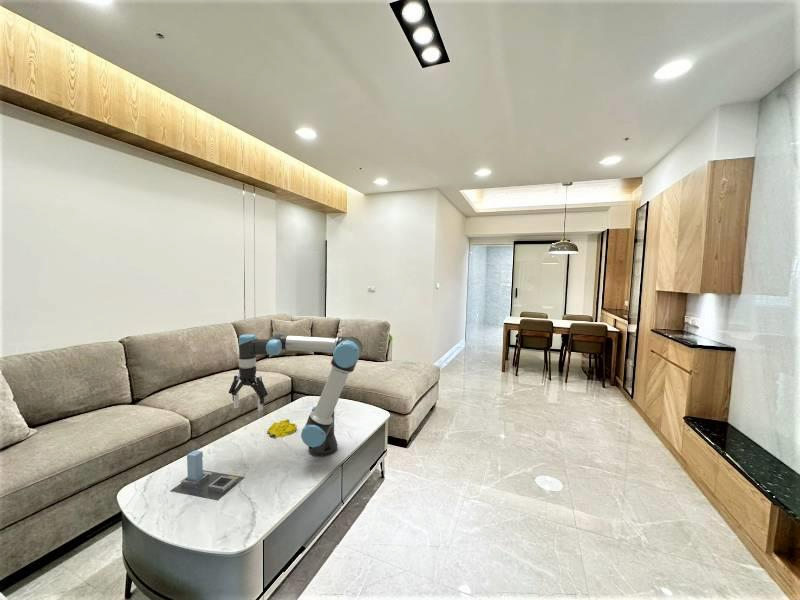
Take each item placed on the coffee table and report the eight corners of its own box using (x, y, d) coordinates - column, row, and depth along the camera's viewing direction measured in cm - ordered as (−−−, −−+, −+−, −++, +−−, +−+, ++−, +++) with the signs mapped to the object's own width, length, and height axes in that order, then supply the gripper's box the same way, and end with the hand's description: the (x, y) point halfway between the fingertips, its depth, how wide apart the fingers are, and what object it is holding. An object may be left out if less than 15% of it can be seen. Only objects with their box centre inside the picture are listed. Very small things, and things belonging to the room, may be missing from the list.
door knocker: (300, 432, 194) (300, 425, 194) (272, 440, 184) (272, 433, 184) (289, 422, 207) (289, 416, 207) (263, 429, 197) (263, 423, 197)
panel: (245, 479, 148) (245, 473, 148) (218, 502, 132) (217, 495, 132) (200, 471, 153) (200, 465, 153) (169, 493, 138) (169, 486, 137)
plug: (204, 478, 147) (204, 450, 146) (195, 485, 142) (194, 456, 141) (197, 476, 148) (196, 448, 147) (187, 483, 143) (187, 454, 142)
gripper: (275, 366, 160) (275, 408, 161) (231, 362, 166) (232, 403, 167) (265, 370, 153) (265, 414, 154) (220, 366, 158) (221, 409, 160)
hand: (248, 409), depth 161 cm, fingers open, 13 cm apart
